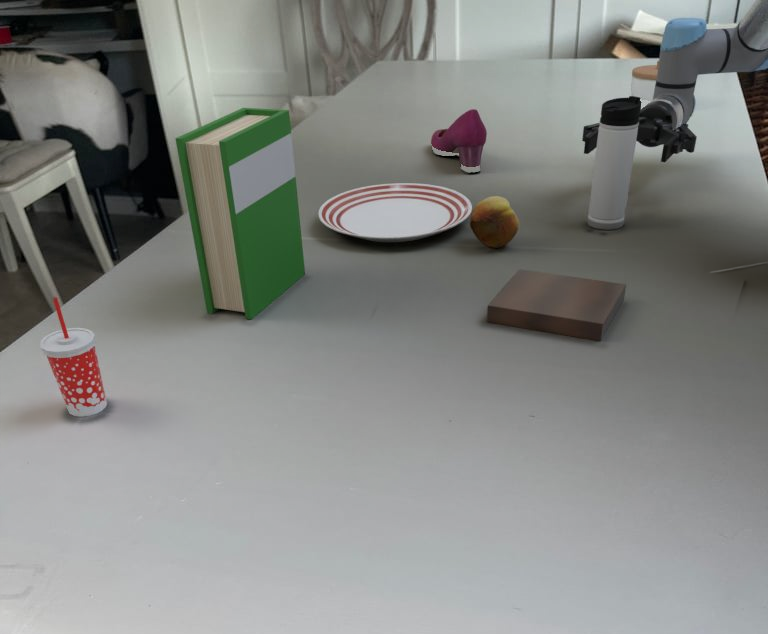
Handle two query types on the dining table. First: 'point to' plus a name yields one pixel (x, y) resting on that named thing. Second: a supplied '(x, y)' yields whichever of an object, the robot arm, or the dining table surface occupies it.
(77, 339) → the beverage cup
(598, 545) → the dining table surface
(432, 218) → the dinner plate
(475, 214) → the fruit
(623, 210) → the travel mug
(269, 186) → the hardback book
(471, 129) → the high heel
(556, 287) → the serving board
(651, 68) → the lidded bowl
